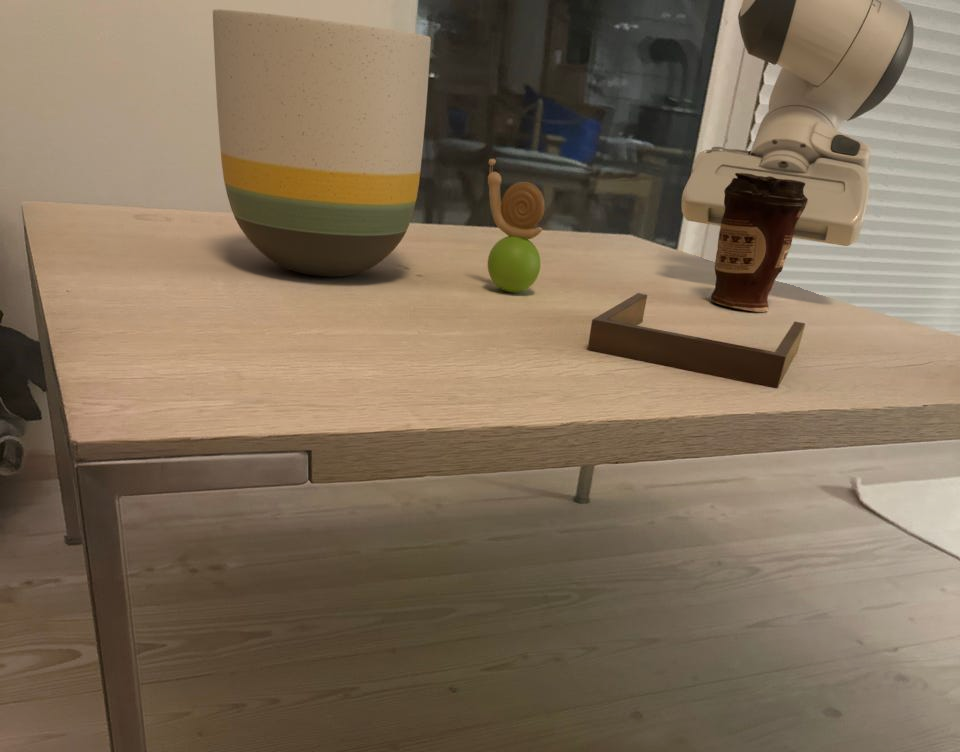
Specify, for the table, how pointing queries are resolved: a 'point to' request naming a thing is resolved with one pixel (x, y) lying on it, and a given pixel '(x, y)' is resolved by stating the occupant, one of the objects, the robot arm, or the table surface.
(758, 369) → the corral
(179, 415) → the table surface
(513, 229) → the snail figurine
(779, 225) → the coffee cup
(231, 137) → the planter
